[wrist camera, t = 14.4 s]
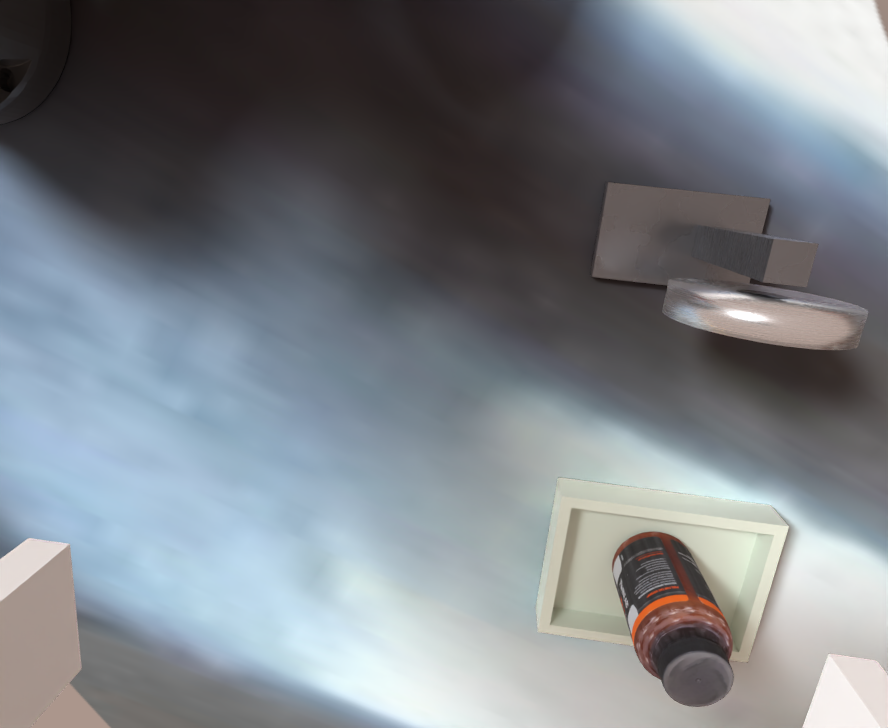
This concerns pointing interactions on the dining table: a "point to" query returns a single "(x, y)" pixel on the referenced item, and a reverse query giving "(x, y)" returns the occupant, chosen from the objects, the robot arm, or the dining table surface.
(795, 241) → the pulley bracket
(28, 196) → the dining table surface
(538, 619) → the tray
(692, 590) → the supplement bottle
